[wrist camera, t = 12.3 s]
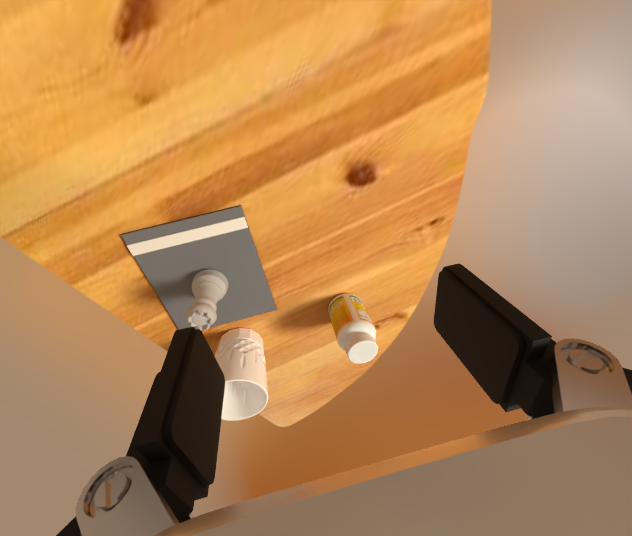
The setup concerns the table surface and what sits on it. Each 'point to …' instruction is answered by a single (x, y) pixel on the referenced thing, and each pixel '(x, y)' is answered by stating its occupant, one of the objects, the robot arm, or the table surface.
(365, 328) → the supplement bottle
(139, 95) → the table surface
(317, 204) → the table surface
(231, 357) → the white cup
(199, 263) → the mat
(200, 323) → the rook chess piece
